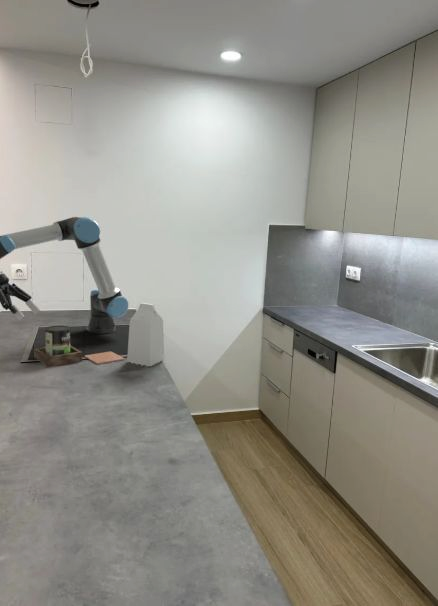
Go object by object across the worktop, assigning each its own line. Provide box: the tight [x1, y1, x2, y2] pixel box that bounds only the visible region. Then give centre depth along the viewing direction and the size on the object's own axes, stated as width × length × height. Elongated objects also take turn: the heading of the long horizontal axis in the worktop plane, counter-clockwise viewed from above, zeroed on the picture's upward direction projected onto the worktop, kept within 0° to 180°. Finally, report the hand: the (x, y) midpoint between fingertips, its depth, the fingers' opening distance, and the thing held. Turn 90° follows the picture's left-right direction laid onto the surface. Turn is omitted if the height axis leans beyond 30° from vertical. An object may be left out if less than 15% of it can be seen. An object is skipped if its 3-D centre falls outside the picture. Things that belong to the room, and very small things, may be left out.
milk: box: [126, 302, 165, 367], centre depth 203 cm, size 12×12×26 cm
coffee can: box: [44, 325, 71, 356], centre depth 200 cm, size 10×10×14 cm
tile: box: [84, 351, 125, 365], centre depth 206 cm, size 13×13×1 cm
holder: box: [33, 344, 83, 368], centre depth 201 cm, size 15×15×4 cm
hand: (30, 315), depth 199 cm, fingers open, 13 cm apart
